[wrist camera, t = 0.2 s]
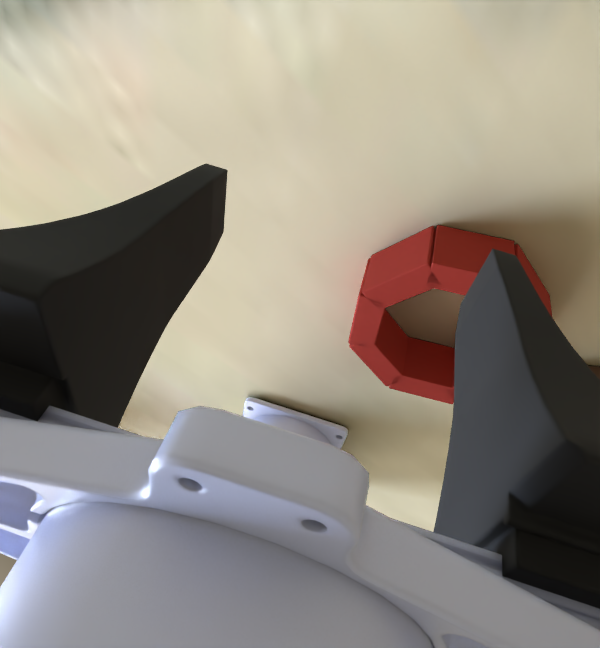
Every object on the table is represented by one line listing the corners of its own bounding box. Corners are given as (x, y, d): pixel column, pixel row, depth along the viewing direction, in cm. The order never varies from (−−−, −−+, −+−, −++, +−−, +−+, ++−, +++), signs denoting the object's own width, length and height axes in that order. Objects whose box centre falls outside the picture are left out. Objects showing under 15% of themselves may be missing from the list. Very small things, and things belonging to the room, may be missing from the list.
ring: (572, 331, 26) (579, 375, 24) (417, 376, 32) (412, 415, 30) (489, 197, 22) (489, 235, 20) (329, 275, 28) (316, 311, 26)
